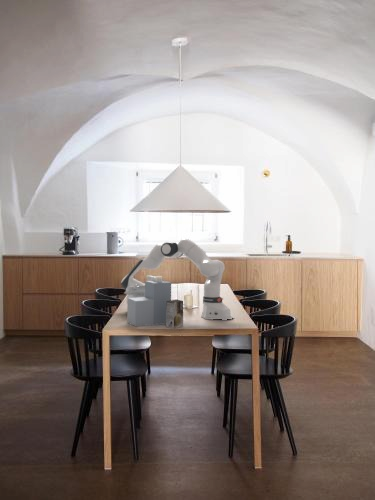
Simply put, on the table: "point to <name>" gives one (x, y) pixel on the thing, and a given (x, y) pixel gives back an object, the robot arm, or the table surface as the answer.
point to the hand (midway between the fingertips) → (143, 285)
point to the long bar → (155, 278)
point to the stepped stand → (150, 305)
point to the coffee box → (174, 314)
